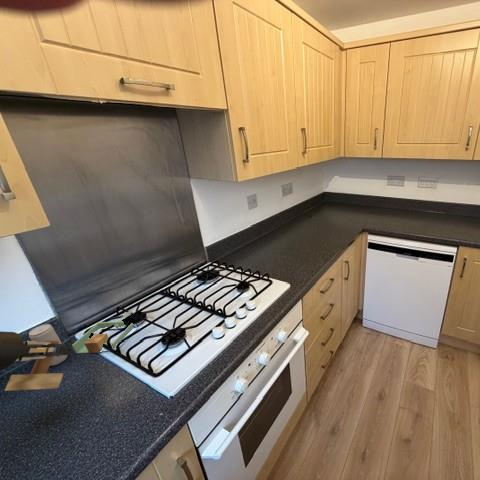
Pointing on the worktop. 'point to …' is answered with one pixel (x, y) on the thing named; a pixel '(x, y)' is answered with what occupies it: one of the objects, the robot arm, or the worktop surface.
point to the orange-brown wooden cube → (96, 343)
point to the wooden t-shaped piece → (36, 377)
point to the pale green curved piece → (79, 344)
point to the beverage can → (47, 334)
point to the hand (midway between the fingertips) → (63, 350)
